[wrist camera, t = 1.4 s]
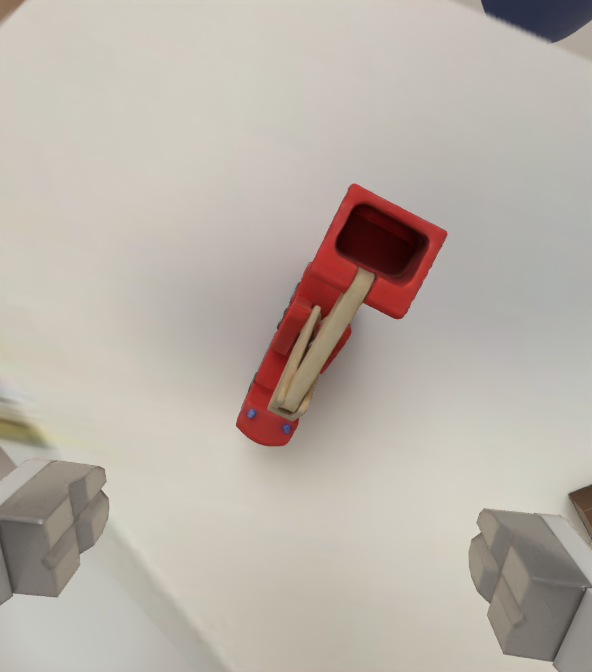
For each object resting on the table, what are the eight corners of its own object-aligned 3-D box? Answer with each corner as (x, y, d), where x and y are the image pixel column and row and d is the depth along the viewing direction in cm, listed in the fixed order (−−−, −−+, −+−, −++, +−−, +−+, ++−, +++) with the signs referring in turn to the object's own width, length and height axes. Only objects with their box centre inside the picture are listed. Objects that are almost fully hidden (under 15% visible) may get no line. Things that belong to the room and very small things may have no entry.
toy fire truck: (241, 400, 23) (188, 520, 14) (339, 194, 19) (354, 174, 10) (288, 421, 23) (265, 553, 14) (395, 222, 19) (461, 230, 10)
